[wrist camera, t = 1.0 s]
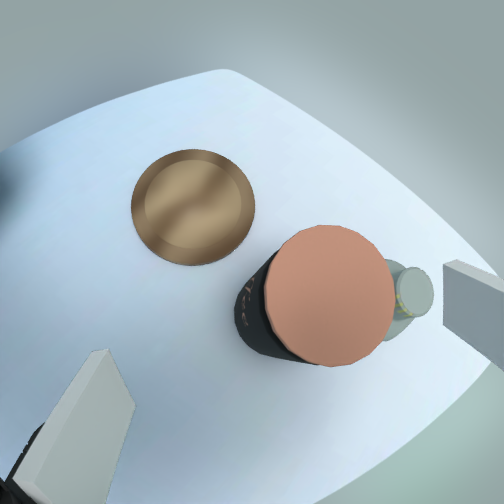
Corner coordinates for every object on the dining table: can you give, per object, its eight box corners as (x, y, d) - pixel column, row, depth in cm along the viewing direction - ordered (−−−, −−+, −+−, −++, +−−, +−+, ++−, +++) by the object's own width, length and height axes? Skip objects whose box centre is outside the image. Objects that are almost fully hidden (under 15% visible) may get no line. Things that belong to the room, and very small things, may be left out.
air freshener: (365, 350, 41) (409, 350, 31) (330, 304, 42) (368, 293, 32) (411, 300, 44) (456, 289, 34) (380, 257, 45) (421, 236, 35)
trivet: (109, 225, 39) (107, 222, 38) (176, 136, 44) (176, 131, 43) (215, 289, 39) (215, 287, 38) (273, 189, 44) (275, 184, 43)
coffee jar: (272, 255, 42) (326, 197, 25) (331, 311, 41) (416, 288, 24) (214, 316, 38) (232, 297, 21) (278, 374, 38) (343, 396, 21)
